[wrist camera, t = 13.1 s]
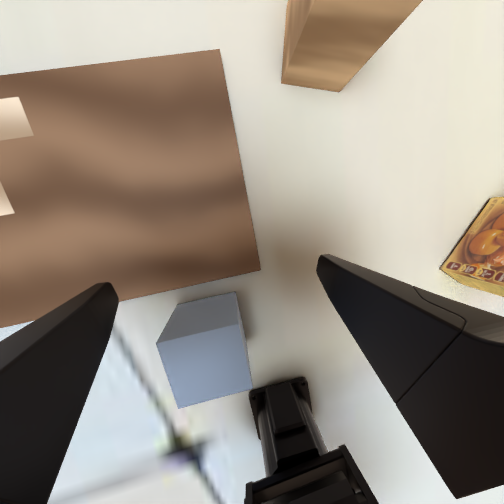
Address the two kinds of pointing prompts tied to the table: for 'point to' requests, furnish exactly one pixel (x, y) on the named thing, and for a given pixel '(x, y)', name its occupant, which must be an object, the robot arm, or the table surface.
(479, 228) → the candy box
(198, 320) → the slate cube
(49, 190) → the board
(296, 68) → the oak block
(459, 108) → the table surface
